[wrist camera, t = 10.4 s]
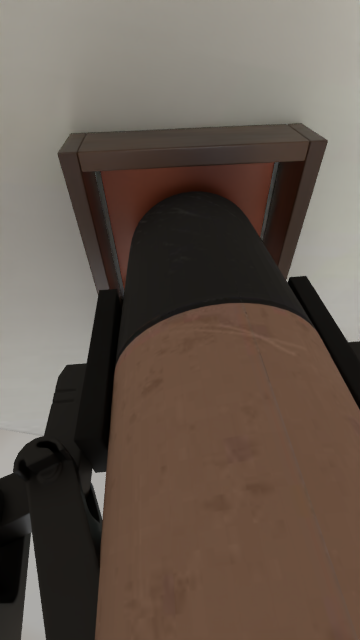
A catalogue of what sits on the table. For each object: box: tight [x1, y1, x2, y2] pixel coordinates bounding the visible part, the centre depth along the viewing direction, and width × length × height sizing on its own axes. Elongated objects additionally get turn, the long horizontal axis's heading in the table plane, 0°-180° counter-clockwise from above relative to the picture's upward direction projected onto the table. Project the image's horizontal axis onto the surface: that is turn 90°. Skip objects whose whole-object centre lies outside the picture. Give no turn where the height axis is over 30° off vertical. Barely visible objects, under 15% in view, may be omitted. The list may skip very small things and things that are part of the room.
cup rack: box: [58, 123, 327, 310], centre depth 21 cm, size 11×22×3 cm, turn 1°
